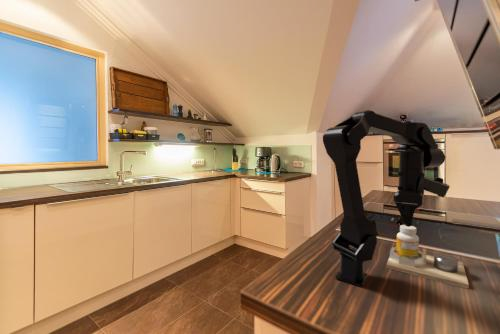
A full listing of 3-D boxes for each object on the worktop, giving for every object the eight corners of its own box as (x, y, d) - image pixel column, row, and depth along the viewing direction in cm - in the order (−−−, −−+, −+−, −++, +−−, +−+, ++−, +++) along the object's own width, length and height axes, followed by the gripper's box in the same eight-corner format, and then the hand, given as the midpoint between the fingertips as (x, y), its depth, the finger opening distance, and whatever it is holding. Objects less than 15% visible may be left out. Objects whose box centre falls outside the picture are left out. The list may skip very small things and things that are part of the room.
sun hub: (458, 274, 60) (459, 263, 60) (433, 269, 63) (434, 258, 63) (456, 267, 64) (457, 256, 64) (433, 261, 67) (434, 251, 67)
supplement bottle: (397, 253, 73) (398, 222, 72) (418, 258, 69) (420, 226, 68) (394, 260, 68) (395, 227, 68) (417, 265, 65) (418, 231, 64)
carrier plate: (468, 289, 56) (468, 284, 56) (386, 267, 66) (386, 264, 66) (462, 265, 67) (462, 262, 67) (392, 250, 77) (392, 247, 77)
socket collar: (425, 269, 63) (426, 262, 62) (388, 261, 68) (388, 254, 68) (426, 258, 69) (426, 251, 69) (392, 250, 75) (392, 244, 75)
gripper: (450, 172, 55) (447, 237, 56) (446, 167, 69) (443, 218, 70) (394, 170, 61) (392, 228, 62) (401, 166, 76) (400, 213, 77)
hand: (409, 222), depth 68 cm, fingers open, 9 cm apart
